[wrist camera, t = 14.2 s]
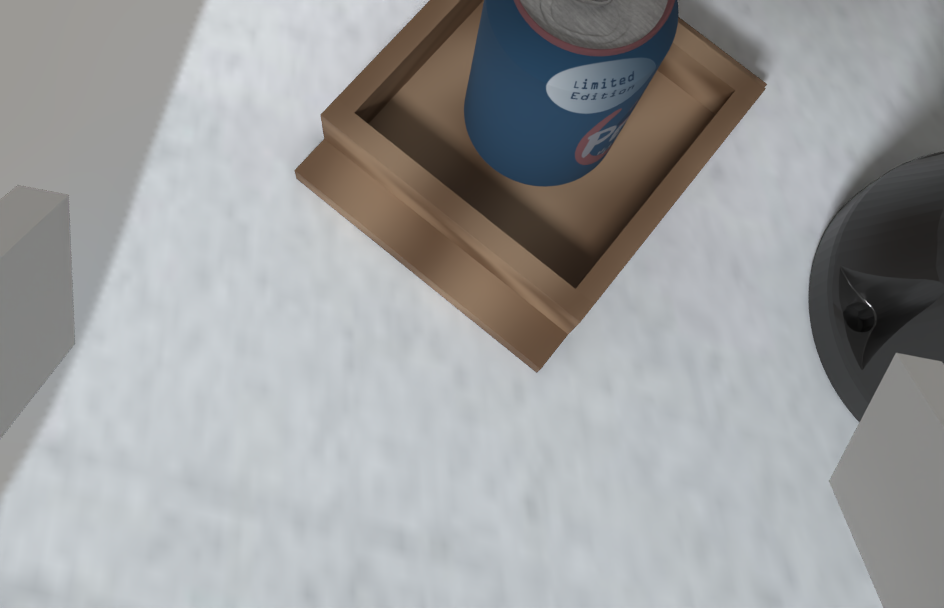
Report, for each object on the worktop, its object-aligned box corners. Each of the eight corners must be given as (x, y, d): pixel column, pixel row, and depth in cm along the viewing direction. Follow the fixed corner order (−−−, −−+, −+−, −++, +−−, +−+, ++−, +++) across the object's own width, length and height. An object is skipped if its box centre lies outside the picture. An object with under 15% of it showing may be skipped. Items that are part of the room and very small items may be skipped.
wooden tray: (758, 93, 44) (789, 58, 41) (536, 372, 40) (551, 358, 37) (536, -76, 45) (548, -124, 42) (296, 178, 41) (288, 147, 38)
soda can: (596, 211, 41) (679, 89, 29) (447, 177, 41) (472, 41, 29) (620, 77, 43) (708, -90, 31) (477, 43, 42) (512, -137, 31)
